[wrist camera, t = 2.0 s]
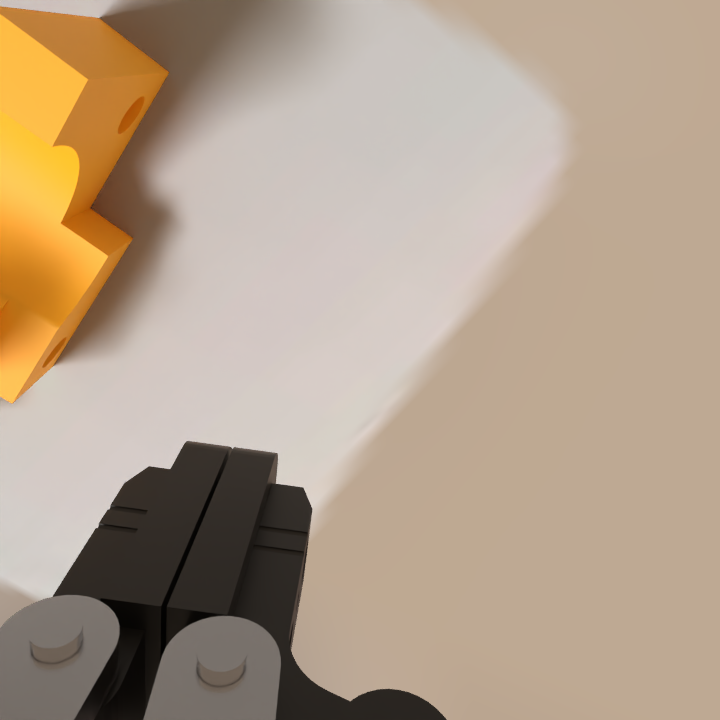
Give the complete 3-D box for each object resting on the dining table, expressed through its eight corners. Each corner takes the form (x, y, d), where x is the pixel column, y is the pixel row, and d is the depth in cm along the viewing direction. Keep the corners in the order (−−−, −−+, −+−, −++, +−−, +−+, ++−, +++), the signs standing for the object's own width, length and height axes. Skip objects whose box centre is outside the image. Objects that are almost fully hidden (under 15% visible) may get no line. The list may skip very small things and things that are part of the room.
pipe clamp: (54, 364, 26) (-43, 453, 21) (-48, 300, 26) (-180, 374, 20) (215, 107, 22) (152, 126, 16) (100, 18, 21) (-12, 4, 15)
